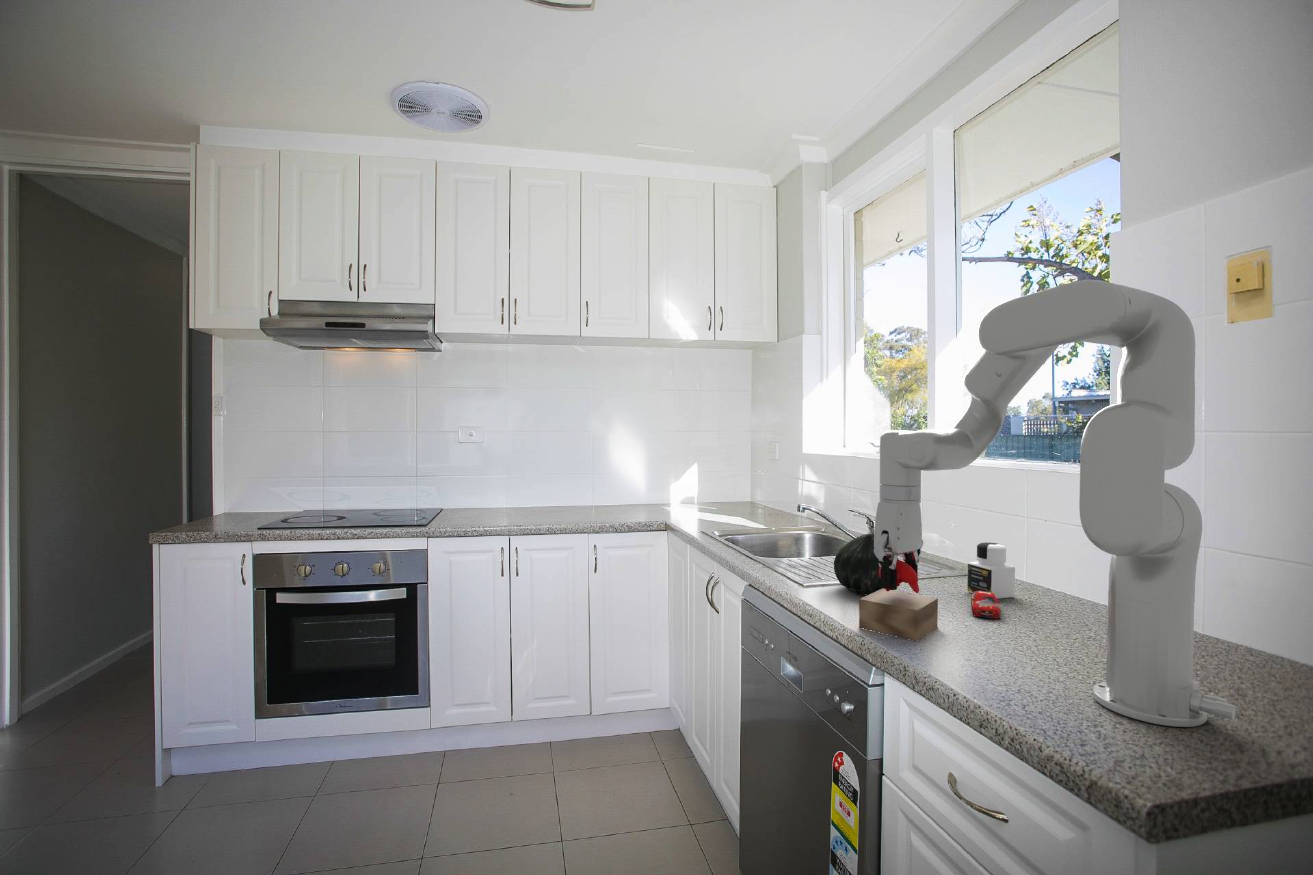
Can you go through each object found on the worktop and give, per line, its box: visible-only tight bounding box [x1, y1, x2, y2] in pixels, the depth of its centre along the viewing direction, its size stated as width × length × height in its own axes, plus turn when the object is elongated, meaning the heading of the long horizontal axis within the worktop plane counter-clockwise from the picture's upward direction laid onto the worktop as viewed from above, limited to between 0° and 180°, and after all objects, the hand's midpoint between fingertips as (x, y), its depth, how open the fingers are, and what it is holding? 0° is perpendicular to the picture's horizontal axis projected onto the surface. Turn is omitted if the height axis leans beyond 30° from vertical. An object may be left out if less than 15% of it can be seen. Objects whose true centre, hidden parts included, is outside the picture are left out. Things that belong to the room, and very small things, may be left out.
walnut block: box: [858, 589, 939, 642], centre depth 124 cm, size 11×11×6 cm
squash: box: [833, 533, 899, 596], centre depth 151 cm, size 14×15×15 cm
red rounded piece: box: [879, 558, 920, 594], centre depth 124 cm, size 8×6×6 cm
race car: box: [970, 591, 1001, 620], centre depth 136 cm, size 13×5×4 cm, turn 154°
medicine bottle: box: [967, 541, 1016, 600], centre depth 149 cm, size 7×7×12 cm
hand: (899, 584), depth 124 cm, fingers closed on red rounded piece, 6 cm apart
